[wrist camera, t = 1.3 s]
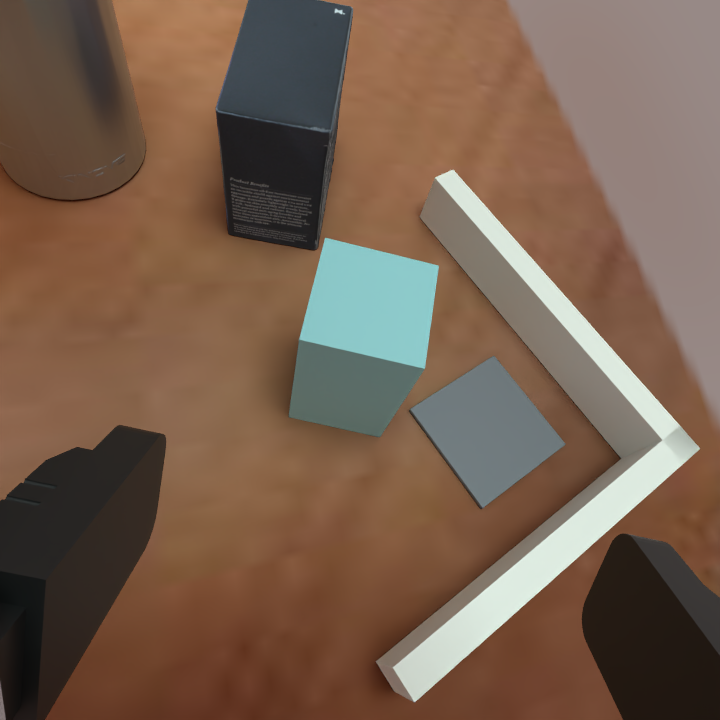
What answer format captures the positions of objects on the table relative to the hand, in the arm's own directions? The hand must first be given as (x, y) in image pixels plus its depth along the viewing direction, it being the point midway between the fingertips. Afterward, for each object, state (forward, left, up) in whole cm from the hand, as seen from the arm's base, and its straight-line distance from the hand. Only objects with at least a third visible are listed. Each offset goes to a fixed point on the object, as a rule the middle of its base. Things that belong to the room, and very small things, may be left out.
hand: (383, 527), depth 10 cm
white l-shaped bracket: (-5, +12, -21) cm, 25 cm away
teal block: (-8, +8, -21) cm, 24 cm away
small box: (-23, +13, -21) cm, 34 cm away
